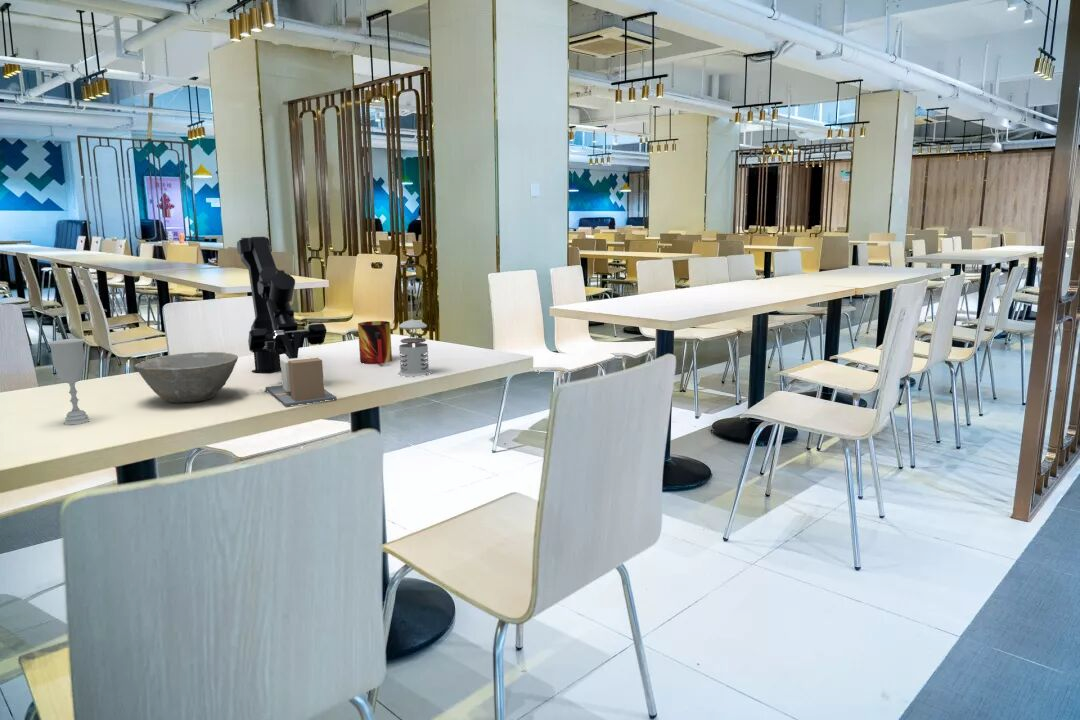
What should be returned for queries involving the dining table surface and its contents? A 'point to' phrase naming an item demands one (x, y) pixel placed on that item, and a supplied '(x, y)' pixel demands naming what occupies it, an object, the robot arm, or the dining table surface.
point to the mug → (375, 342)
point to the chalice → (70, 372)
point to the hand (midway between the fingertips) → (295, 362)
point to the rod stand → (303, 384)
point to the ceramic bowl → (187, 375)
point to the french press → (413, 349)
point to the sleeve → (287, 372)
